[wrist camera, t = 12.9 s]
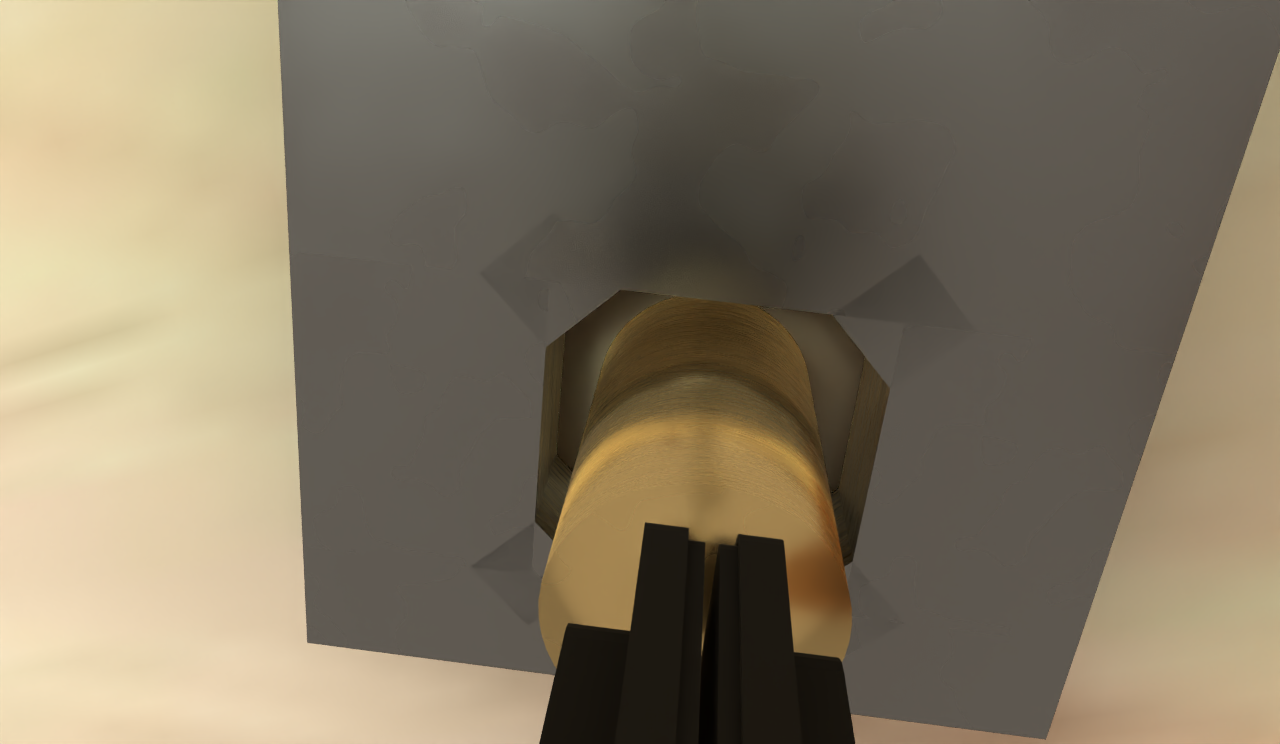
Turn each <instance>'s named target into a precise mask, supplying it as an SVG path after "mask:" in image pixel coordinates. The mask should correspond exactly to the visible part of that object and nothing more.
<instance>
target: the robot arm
mask: <svg viewBox="0 0 1280 744" xmlns="http://www.w3.org/2000/svg"><path fill="white" fill-rule="evenodd" d="M688 539H689V528H687V527H679V526H671V525H663V524H655V523H647V522H645V525H644V533H643V540H642V547H641V555H640V562H639V569H638V577H637V584H636V591H635V599H634V606H633V613H632V620H631V628H630V631H627V630H619V629H612V628H604V627H596V626H588V625H581V624H573V623H568V624H567V626H566V630H565V633H564V638H563V642H562V646H561V651H560V655H559V660H558V664H557V668H556V673H555V677H554V682H553V686H552V690H551V695H550V699H549V704H548V708H547V712H546V717H545V721H544V725H543V730H542V734H541V739H540V743H539V744H855V739H854V733H853V726H852V720H851V713H850V707H849V700H848V694H847V687H846V681H845V674H844V669H843V665H842V661H841V660H840V659H839V658H838V657H830V656H822V655H814V654H806V653H799V652H794V647H793V636H792V625H791V613H790V602H789V591H788V580H787V569H786V558H785V546H784V541H783V540H782V539H775V538H767V537H759V536H751V535H743V534H738V535H737V539H736V543H735V546H734V545H726V544H719V546H718V551H717V558H716V564H715V571H714V577H713V584H712V590H711V597H710V603H709V610H708V616H707V623H706V630H705V636H704V643H703V649H702V626H703V598H704V570H705V542H702V541H694V540H688ZM701 654H702V656H701Z"/></svg>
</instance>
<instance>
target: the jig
mask: <svg viewBox="0 0 1280 744" xmlns="http://www.w3.org/2000/svg"><path fill="white" fill-rule="evenodd" d="M278 15H279V37H280V58H281V80H282V102H283V124H284V145H285V167H286V189H287V210H288V232H289V254H290V275H291V297H292V319H293V341H294V362H295V384H296V406H297V427H298V449H299V471H300V492H301V514H302V536H303V558H304V579H305V601H306V623H307V643H314V644H322V645H329V646H337V647H344V648H352V649H360V650H367V651H375V652H383V653H390V654H398V655H405V656H413V657H421V658H428V659H436V660H444V661H451V662H459V663H467V664H474V665H482V666H489V667H497V668H505V669H512V670H520V671H528V672H535V673H543V674H550V675H555V673H556V667H555V666H554V664H553V662H552V660H551V658H550V656H549V654H548V652H547V650H546V647H545V644H544V641H543V638H542V635H541V629H540V623H539V607H538V600H539V594H540V588H541V582H542V579H543V575H544V572H545V568H546V565H547V561H548V557H549V554H550V550H551V547H552V543H553V540H554V536H555V533H556V529H557V525H558V522H559V518H560V515H561V511H562V508H563V504H564V501H565V497H566V493H567V490H568V486H569V483H570V479H571V476H572V471H571V470H570V468H569V467H568V466H567V465H566V464H565V463H564V462H563V461H562V460H561V459H560V458H559V457H558V456H557V441H558V427H559V413H560V399H561V385H562V371H563V357H564V343H565V332H566V331H568V330H569V329H570V328H572V327H573V326H574V325H575V324H577V323H578V322H579V321H581V320H582V319H583V318H585V317H586V316H587V315H589V314H590V313H591V312H592V311H594V310H595V309H596V308H598V307H599V306H600V305H602V304H603V303H604V302H606V301H607V300H608V299H609V298H611V297H612V296H613V295H615V294H616V293H617V292H619V291H620V290H627V291H635V292H644V293H652V294H661V295H669V296H678V297H686V298H695V299H703V300H712V301H720V302H729V303H737V304H746V305H754V306H763V307H771V308H780V309H788V310H797V311H805V312H814V313H822V314H830V315H833V316H834V318H835V319H836V320H837V321H838V323H839V324H840V325H841V327H842V328H843V329H844V330H845V332H846V333H847V334H848V335H849V337H850V338H851V339H852V341H853V342H854V343H855V344H856V346H857V347H858V348H859V349H860V351H861V352H862V353H863V355H864V356H865V360H864V365H863V370H862V375H861V380H860V385H859V390H858V394H857V399H856V404H855V409H854V414H853V419H852V424H851V429H850V434H849V439H848V444H847V449H846V453H845V458H844V463H843V468H842V473H841V478H840V483H839V488H838V490H836V491H835V492H833V493H832V494H831V499H832V504H833V510H834V515H835V520H836V526H837V531H838V536H839V542H840V547H841V552H842V558H843V563H844V568H845V574H846V579H847V584H848V590H849V595H850V601H851V607H852V628H851V635H850V641H849V645H848V648H847V651H846V654H845V657H844V659H843V661H842V665H843V669H844V674H845V681H846V687H847V694H848V700H849V707H850V713H851V714H856V715H863V716H871V717H879V718H886V719H894V720H902V721H909V722H917V723H924V724H932V725H940V726H947V727H955V728H963V729H970V730H978V731H986V732H993V733H1001V734H1008V735H1016V736H1024V737H1031V738H1039V739H1046V737H1047V734H1048V731H1049V728H1050V726H1051V723H1052V720H1053V717H1054V714H1055V711H1056V708H1057V705H1058V702H1059V699H1060V696H1061V693H1062V690H1063V687H1064V684H1065V681H1066V678H1067V675H1068V672H1069V669H1070V666H1071V664H1072V661H1073V658H1074V655H1075V652H1076V649H1077V646H1078V643H1079V640H1080V637H1081V634H1082V631H1083V628H1084V625H1085V622H1086V619H1087V616H1088V613H1089V610H1090V607H1091V605H1092V602H1093V599H1094V596H1095V593H1096V590H1097V587H1098V584H1099V581H1100V578H1101V575H1102V572H1103V569H1104V566H1105V563H1106V560H1107V557H1108V554H1109V551H1110V548H1111V545H1112V543H1113V540H1114V537H1115V534H1116V531H1117V528H1118V525H1119V522H1120V519H1121V516H1122V513H1123V510H1124V507H1125V504H1126V501H1127V498H1128V495H1129V492H1130V489H1131V486H1132V484H1133V481H1134V478H1135V475H1136V472H1137V469H1138V466H1139V463H1140V460H1141V457H1142V454H1143V451H1144V448H1145V445H1146V442H1147V439H1148V436H1149V433H1150V430H1151V427H1152V424H1153V422H1154V419H1155V416H1156V413H1157V410H1158V407H1159V404H1160V401H1161V398H1162V395H1163V392H1164V389H1165V386H1166V383H1167V380H1168V377H1169V374H1170V371H1171V368H1172V365H1173V363H1174V360H1175V357H1176V354H1177V351H1178V348H1179V345H1180V342H1181V339H1182V336H1183V333H1184V330H1185V327H1186V324H1187V321H1188V318H1189V315H1190V312H1191V309H1192V306H1193V303H1194V301H1195V298H1196V295H1197V292H1198V289H1199V286H1200V283H1201V280H1202V277H1203V274H1204V271H1205V268H1206V265H1207V262H1208V259H1209V256H1210V253H1211V250H1212V247H1213V244H1214V242H1215V239H1216V236H1217V233H1218V230H1219V227H1220V224H1221V221H1222V218H1223V215H1224V212H1225V209H1226V206H1227V203H1228V200H1229V197H1230V194H1231V191H1232V188H1233V185H1234V182H1235V180H1236V177H1237V174H1238V171H1239V168H1240V165H1241V162H1242V159H1243V156H1244V153H1245V150H1246V147H1247V144H1248V141H1249V138H1250V135H1251V132H1252V129H1253V126H1254V123H1255V121H1256V118H1257V115H1258V112H1259V109H1260V106H1261V103H1262V100H1263V97H1264V94H1265V91H1266V88H1267V85H1268V82H1269V79H1270V76H1271V73H1272V70H1273V67H1274V64H1275V61H1276V59H1277V56H1278V53H1279V50H1280V0H278Z"/></svg>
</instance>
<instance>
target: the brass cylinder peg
mask: <svg viewBox="0 0 1280 744" xmlns="http://www.w3.org/2000/svg"><path fill="white" fill-rule="evenodd" d="M645 522H647V523H655V524H663V525H671V526H679V527H687V528H689V539H688V540H694V541H702V542H705V570H704V598H703V626H702V649H703V643H704V636H705V630H706V623H707V616H708V610H709V603H710V597H711V590H712V584H713V577H714V571H715V564H716V558H717V551H718V546H719V544H726V545H734V546H735V543H736V539H737V535H738V534H743V535H751V536H759V537H767V538H775V539H782V540H783V541H784V546H785V558H786V569H787V580H788V591H789V602H790V613H791V625H792V636H793V647H794V652H799V653H806V654H814V655H822V656H830V657H838V658H839V659H840V660H841V661H843V659H844V657H845V654H846V651H847V648H848V645H849V641H850V635H851V628H852V607H851V601H850V595H849V590H848V584H847V579H846V574H845V568H844V563H843V558H842V552H841V547H840V542H839V536H838V531H837V526H836V520H835V515H834V510H833V504H832V499H831V494H830V489H829V483H828V478H827V473H826V467H825V462H824V457H823V451H822V446H821V441H820V435H819V430H818V425H817V419H816V414H815V409H814V403H813V398H812V393H811V387H810V382H809V377H808V371H807V367H806V364H805V361H804V358H803V355H802V353H801V351H800V349H799V347H798V345H797V343H796V342H795V340H794V339H793V338H792V336H791V335H790V333H789V332H788V331H787V330H786V329H785V328H784V327H783V326H782V324H781V323H780V322H778V321H777V320H776V319H775V318H774V317H772V316H771V315H770V314H768V313H767V312H765V311H764V310H762V309H761V308H759V307H757V306H754V305H746V304H737V303H729V302H720V301H712V300H703V299H695V298H686V297H678V296H676V297H673V298H670V299H667V300H663V301H661V302H659V303H657V304H654V305H652V306H650V307H648V308H647V309H645V310H644V311H642V312H641V313H639V314H638V315H636V316H635V317H634V318H633V319H632V320H631V321H629V322H628V323H627V324H626V325H625V326H624V328H623V329H622V330H621V331H620V332H619V333H618V335H617V336H616V338H615V339H614V341H613V342H612V344H611V346H610V348H609V350H608V352H607V354H606V356H605V359H604V363H603V366H602V369H601V373H600V376H599V380H598V383H597V387H596V390H595V394H594V398H593V401H592V405H591V408H590V412H589V415H588V419H587V422H586V426H585V430H584V433H583V437H582V440H581V444H580V447H579V451H578V454H577V458H576V461H575V465H574V469H573V472H572V476H571V479H570V483H569V486H568V490H567V493H566V497H565V501H564V504H563V508H562V511H561V515H560V518H559V522H558V525H557V529H556V533H555V536H554V540H553V543H552V547H551V550H550V554H549V557H548V561H547V565H546V568H545V572H544V575H543V579H542V582H541V588H540V594H539V600H538V607H539V623H540V629H541V635H542V638H543V641H544V644H545V647H546V650H547V652H548V654H549V656H550V658H551V660H552V662H553V664H554V666H555V667H556V668H557V664H558V660H559V655H560V651H561V646H562V642H563V638H564V633H565V630H566V626H567V624H568V623H573V624H581V625H588V626H596V627H604V628H612V629H619V630H627V631H630V628H631V620H632V613H633V606H634V599H635V591H636V584H637V577H638V569H639V562H640V555H641V547H642V540H643V533H644V525H645ZM701 656H702V654H701Z"/></svg>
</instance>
